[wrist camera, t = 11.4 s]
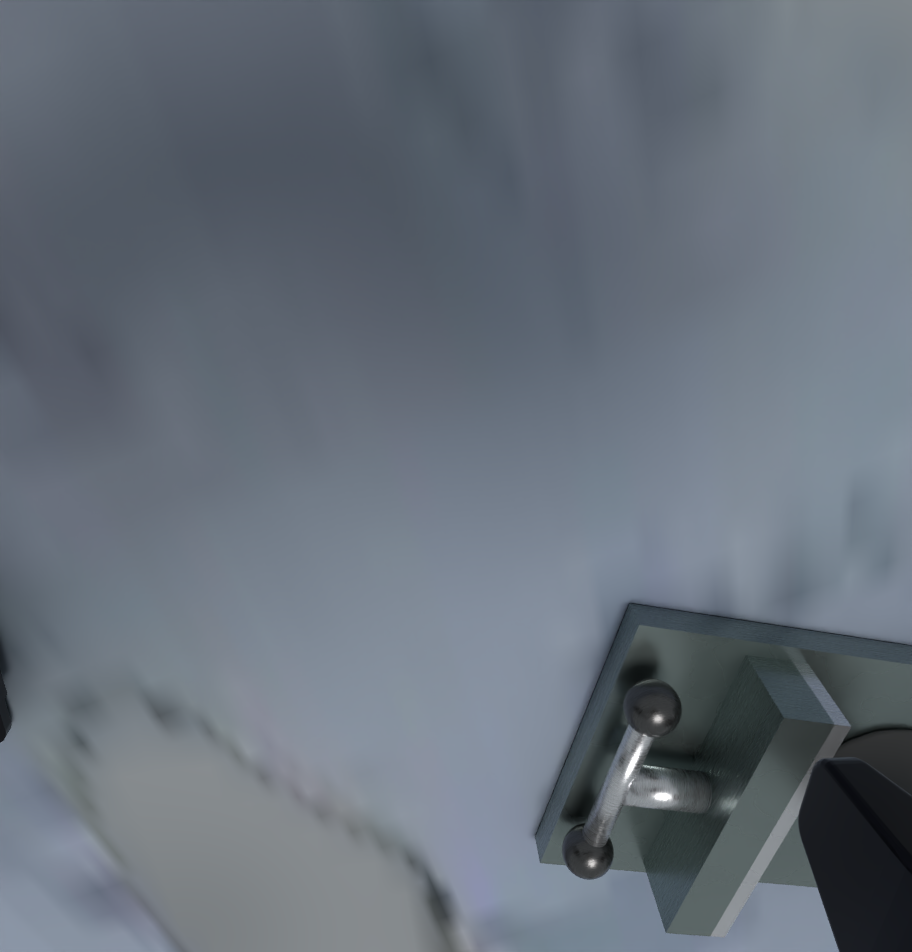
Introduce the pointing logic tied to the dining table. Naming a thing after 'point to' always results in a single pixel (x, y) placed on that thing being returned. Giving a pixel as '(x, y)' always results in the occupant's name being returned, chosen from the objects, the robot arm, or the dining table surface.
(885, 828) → the robot arm
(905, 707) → the vise
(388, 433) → the dining table surface
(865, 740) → the sundae
